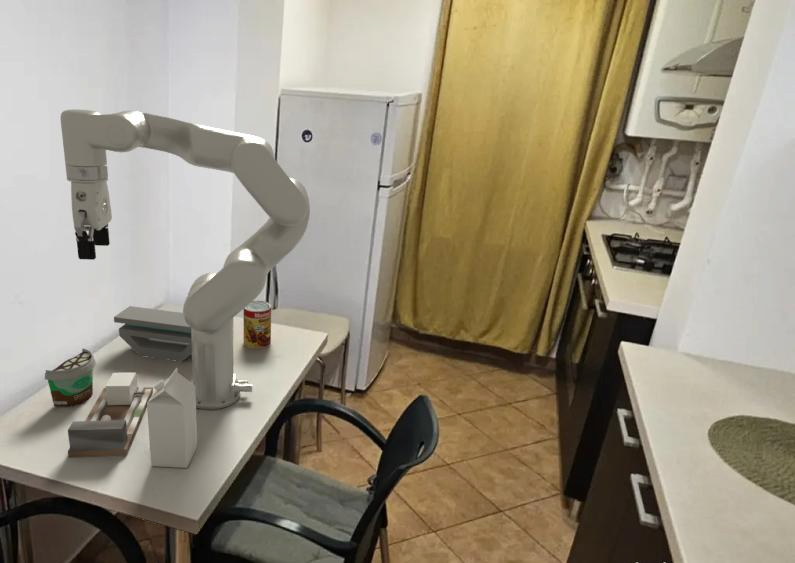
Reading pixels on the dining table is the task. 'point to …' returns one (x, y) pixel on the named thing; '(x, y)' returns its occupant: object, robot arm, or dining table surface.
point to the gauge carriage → (121, 389)
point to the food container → (72, 380)
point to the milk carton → (172, 422)
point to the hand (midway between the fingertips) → (94, 251)
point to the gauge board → (108, 427)
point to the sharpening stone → (155, 332)
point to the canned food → (257, 325)
